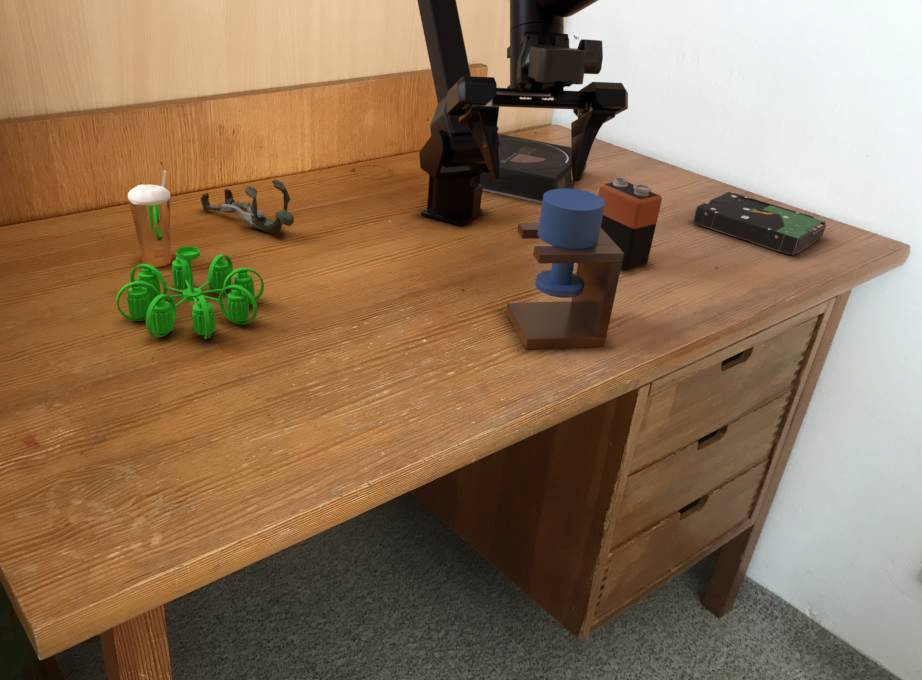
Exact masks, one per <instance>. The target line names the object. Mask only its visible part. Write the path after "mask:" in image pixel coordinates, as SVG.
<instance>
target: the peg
mask: <svg viewBox="0 0 922 680" xmlns="http://www.w3.org/2000/svg"><path fill="white" fill-rule="evenodd" d="M604 207H605V201H604V200H603V199H602V198H601V197H600V196H598V194H596V193H593V192H590V191H587V190H583V189H576V188H567V189H553V190H550V191H547V192H546V193H544V195H543V200H542V203H541V208H540V214H539V221H538V223H539V227H538V237H539V238H540V240H541V241H542V242H543V243H545V244H548V245H549V246H556V247H560V248H565V249H586V248H590V247H593V246H595V245H596V244H597V242H598V238H599V233H600V228H601V222H602V217H603V212H604ZM574 267H575V263H551V268H550V269H548V270H543V271H541V272H539V273H537V275H536V277H535V282H534V286H535V288H536V289H537V290H538V291H539V292H541V293H543V294H545V295H547V296H550V297H554V298H562V299H563V298H564V299H567V298H572V297H576V296H578V295H580V294H581V293H582V292H583V290H584V285H585V283H584V280H583V279H582V278H581V277H579V276H578V275H576V273H574Z"/></svg>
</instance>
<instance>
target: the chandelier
mask: <svg viewBox="0 0 922 680" xmlns="http://www.w3.org/2000/svg"><path fill="white" fill-rule="evenodd" d="M200 256H201V250H200V249H199V247H195V246H182V247H180V248H178V249H177V250H176V253H175V260H173V261H171V264H172V266H171V278H172V285H173V286H174V287H170V286H168V284H167V280H166V278H165V277H164V275H163V274H162V272H161V271H160V270H159V269H158V268H156V267H153V266H151V265H149V264H143V263H140V264H138V265H136V266H134V267H133V268H132V269H131V271H130V275H129V280H130V282H128V283H126V284H125V285H123V286H122V287H121V288H120V290H118V293H117V294H116V300H115V302H116V308H117V310H118V312H119V313H120V315H122V316H123V317H124V318H126V320H130V321H133V322H141V321H142V322H143V321H145V327H146V330H147V331H148V333H149V335H150V336H152V337H155V338H163V337H165V336H167V335H168V334H169V333H170V332H172V331H173V330H174V329H175V321H176V318H177V317H176V316H177V307H178V306H180V305H181V304H182V303H184V302H190V303H192V302H193V303H195V304H193V306H192V312H191V318H192V327H193V328H192V329H193V331H194V333H195V334H197V335H200V336H202V338H203V339H204V340H207V339H211V337H212V334H213V333H214V332H215V331H216V328H217V327H216V314H215V310H214V307H213V305H212V303H210V302H208V300H211V301H215V302H217V303H218V306H219V309H220V311H221V313H222V314H223V315H224V317H225V318H226V319H227V320H228V321H230V322H231V323H233V324H235V325H240V326H244V325H248V324H250V323H252V321H253V320H255V318H256V317H257V314H258V303H257V302H258V300H259V299H260V298H261V296H262V295H263V293H264V289H265V283H264V279H263V278H262V276H261V275H260V274H259V272H258V271H257V270H255V269H254V268H250V267H239V268H236V269H234V266H233V265H234V264H233V261H232V259H231V257H230V256H229V255H226V254H221V253H220V254H218V255H216V256H215V257H214V258H213V259H212V261H211V263H210V265H209V268H208V272H207V282H205V283H204V284H202V285H201V286H199V287H194V273H193V267H192V260H193V261H194V260H196V259H198V258H199V257H200ZM138 268H141V270H140V271H138V273H137V278H136V279H137V280H136V279H135V273H136V271H137V269H138ZM248 272H249V273H248ZM250 272H251V273H253V274H255V275H257V277H258V278H259V280H260V289H259V292H258V293H257V294H256V296H255V281H254V280H253V276H252V274H250ZM232 279H233V281H232ZM161 285H162V292H161ZM207 286H208V287H209V290H203V289H204V288H205V287H207ZM128 288H129V289H128ZM127 289H128V290H127ZM228 289H229V290H230V289H231V291H229V292H228V293H227V290H228ZM126 290H127V295H126V301H127V308H128V313H129V315H128V314H127V313H125V312H124V311H123V310H122V308H121V307H120V298H121V296H122V294H123V293H124V291H126ZM168 290H169V291H172V292H173V291H174V292H177V293H179V294H174V295H172V294H171V295H168ZM180 293H181V294H180ZM212 293H213V294H218V298H217V297H211V296H208V295H204V294H212ZM223 296H225V298H226V307H225V305H224V300H223V299H224V298H223ZM175 298H181V300H179V301H178V302H176V301H175V300H174V299H175ZM167 300H168V301H167ZM250 305H252V310H253V312H252V315H251V316H252V317H251V318H250V319H249V316H250Z"/></svg>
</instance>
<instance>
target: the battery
mask: <svg viewBox="0 0 922 680" xmlns="http://www.w3.org/2000/svg"><path fill="white" fill-rule="evenodd" d="M652 190H653V189H652V187H651V186H650V185H647V184H643V183H638V184H637V183H636V184H634V183H631V182H629V179H628V178H625V177H621V176H618V177H615V178H614V181H612V182H607V183H602V184H600V185H599V188H598V192H597V195H598V196H600V197H601V198H602V199H603V200H604V201H605V207H604V212H603V217H602V222H601V228H602V230H604V232H605V233H606V234H607V235H608V236H609V237H610V238H611V239H612V240H613V242H614V243H615V244H616V245H617V246H618V247H619V248H620V249H621V251H622V252H623V253H624V256H623V260H622V266H621V270H622V271H630V270H632V269H635V268H636V269H637V268H639V267H643V266H646V265H647V264H648V262H649V258H650V255H651V254H650V253H651V249H652V245H653V240H654V237H655V231H656V228H657V222H658V218H659V215H660V211H661V206H662V201H663V197H662V195H660V194H658V193H657V192H656V193H655V192H654V191H652Z"/></svg>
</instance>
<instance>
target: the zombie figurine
mask: <svg viewBox="0 0 922 680" xmlns="http://www.w3.org/2000/svg"><path fill="white" fill-rule="evenodd" d="M271 183H273V187H274V188H275V189H276V190H278V191H280V192H281V194H283V209H281V210H278V211H276V212H275V220H273V219H271V218H270V219H268V218H267V217H266V214H265V213H264V211H262V210H260V209H259V208H258V200H257V197H258V196H257V195H258V190H257V189H256V188H255V187H252V186H251V185H250V186H249V185H248V186H246V187H245V189H244V193H245V194H246V195H247V196H248V197H250V198H251V199H252V201H251V203H250V202H246V201H244V202H240V201H237V202H236V201H235V199H234V195H233V192H232V191H231V189H229V188H225V189H224V203H222V204H221V205H211V203H210V200H209V199H210V194H209V193H208V192H205V193H203V194H202V195H201V196H200V203H201V206H202V209H203V212H207V211H208V212H209V211H216V212H219V213H225V214H226V213H228V214H231V213H237V214H238V216H239V217H240V218H242V219H243V220H244V221H245V223H246V225H247V227H249V228H253V229H257V230H260V231H262V232H265V233H268V234H270V235H272V234H276V233H278V232H279V231H281V229H282V228H283V225H285V226H287V227H291V226H292V225H293V224H294V223H295V216H294V215H293V214H292V212H291V211H288V206H289V203H290V201H291V198H290V194H289V192H288V189H287V187H286V185H285V184H284V182H283V181H280V180H277V179H273V180H271ZM244 210H245V211H248V212H245V211H244Z"/></svg>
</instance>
